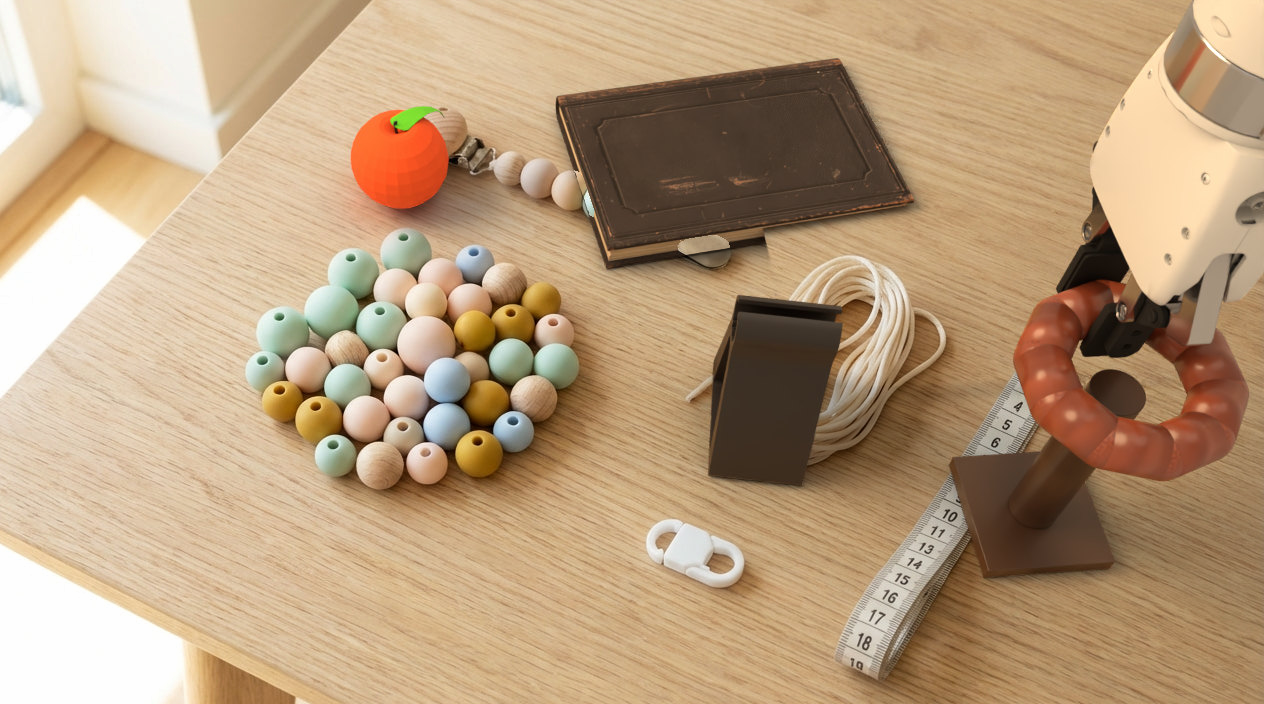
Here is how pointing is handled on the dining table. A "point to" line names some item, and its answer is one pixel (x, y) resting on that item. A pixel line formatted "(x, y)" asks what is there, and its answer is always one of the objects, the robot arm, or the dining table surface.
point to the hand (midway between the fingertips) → (1095, 320)
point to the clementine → (400, 157)
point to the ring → (1099, 431)
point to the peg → (1040, 498)
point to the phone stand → (770, 388)
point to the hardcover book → (725, 157)
